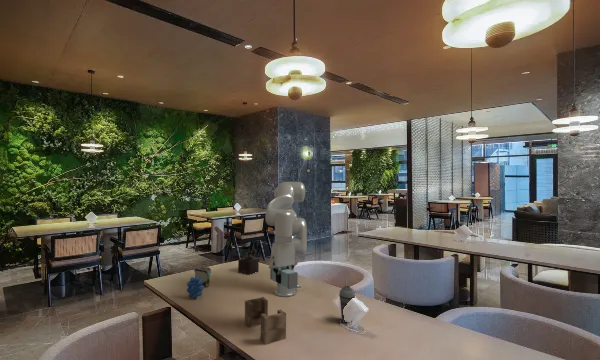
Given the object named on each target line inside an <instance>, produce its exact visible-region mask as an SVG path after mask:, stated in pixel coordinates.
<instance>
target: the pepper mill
mask: <svg viewBox="0 0 600 360" xmlns="http://www.w3.org/2000/svg"><path fill="white" fill-rule="evenodd" d="M250 250H251V251H250ZM257 252H258V250H257V249H256V248H251V249H250V248H247V255H245V256H244V257H242V258H239V259H238V261H237V263H238V264H237V268H238V271H237V273H238V274H241V273H242V275H246V276H251V275H253V273H254V274H256V273H255V272H257V273H259V267H260V265H259V263H260V262H259V261H260V260H259V259H260V258H256V255H257ZM250 254H251V255H250ZM250 274H251V275H250Z"/></svg>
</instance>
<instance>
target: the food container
mask: <svg viewBox="0 0 600 360" xmlns="http://www.w3.org/2000/svg"><path fill="white" fill-rule="evenodd" d="M193 272H194V278H195V277H199V280H202V281H203V283H202V285H203V286H204V288H208V287H209V286H210V281H211V274H212V269H211V267H207V266H198V267H195V268H194V271H193Z"/></svg>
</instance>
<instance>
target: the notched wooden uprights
mask: <svg viewBox="0 0 600 360" xmlns="http://www.w3.org/2000/svg"><path fill="white" fill-rule="evenodd" d="M268 304H269V300H268V299H267V298H265V296H261V297H258V298H257V297H256V298H252V299H247V300H244V324H245V325H246V327H247V328H252V327H256V326H260V340H261V342H262V343H263V344H264V345H270V344H273V343H275V342H279V341H282V340H286V339H287V313H286V312H285V311H283V310H282V309H278V310H277V313H275V314H271V315H270V314H269V313H268V312H269V311H268V310H269V308H268V306H269V305H268ZM268 314H269V315H268Z"/></svg>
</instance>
